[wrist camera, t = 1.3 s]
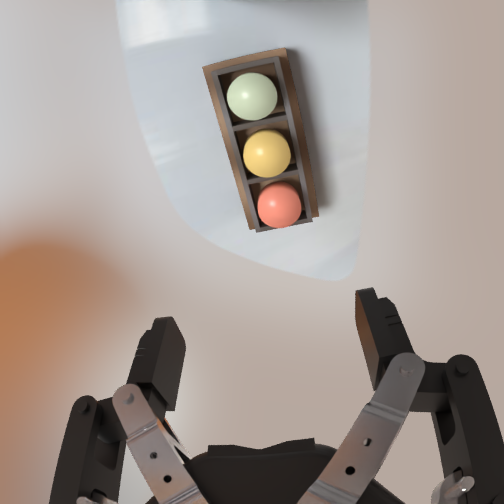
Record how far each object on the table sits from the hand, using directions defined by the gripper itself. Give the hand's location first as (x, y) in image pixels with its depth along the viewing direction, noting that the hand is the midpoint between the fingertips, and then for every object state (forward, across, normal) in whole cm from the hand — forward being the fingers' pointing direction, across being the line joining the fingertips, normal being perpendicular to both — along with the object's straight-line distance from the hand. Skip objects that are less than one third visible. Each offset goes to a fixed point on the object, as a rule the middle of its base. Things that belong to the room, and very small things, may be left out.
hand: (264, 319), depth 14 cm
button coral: (+15, -1, +2) cm, 15 cm away
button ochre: (+14, -1, -3) cm, 15 cm away
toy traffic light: (+18, -1, -3) cm, 18 cm away
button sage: (+14, -1, -7) cm, 16 cm away
